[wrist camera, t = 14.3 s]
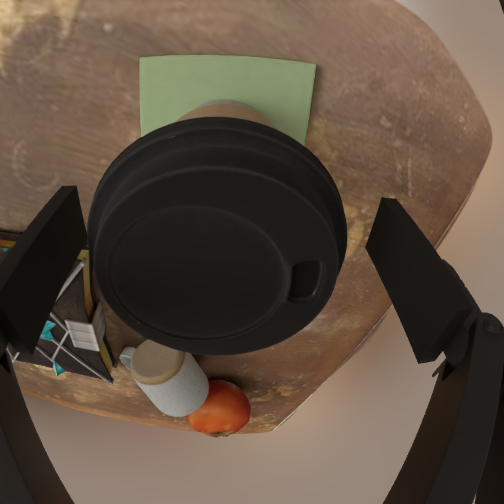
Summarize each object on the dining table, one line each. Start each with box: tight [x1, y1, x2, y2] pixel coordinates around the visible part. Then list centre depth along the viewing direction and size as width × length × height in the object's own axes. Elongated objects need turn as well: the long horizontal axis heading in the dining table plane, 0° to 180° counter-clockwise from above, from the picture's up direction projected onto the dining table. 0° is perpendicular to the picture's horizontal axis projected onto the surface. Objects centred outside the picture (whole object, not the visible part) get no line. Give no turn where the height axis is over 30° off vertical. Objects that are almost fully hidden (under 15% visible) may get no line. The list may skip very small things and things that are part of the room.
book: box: [0, 232, 118, 384], centre depth 30 cm, size 22×17×5 cm
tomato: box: [187, 379, 251, 437], centre depth 41 cm, size 9×9×8 cm
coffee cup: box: [87, 99, 347, 355], centre depth 16 cm, size 9×9×15 cm
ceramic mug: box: [120, 339, 209, 417], centre depth 35 cm, size 11×8×8 cm
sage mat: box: [140, 55, 316, 147], centre depth 22 cm, size 12×12×1 cm
